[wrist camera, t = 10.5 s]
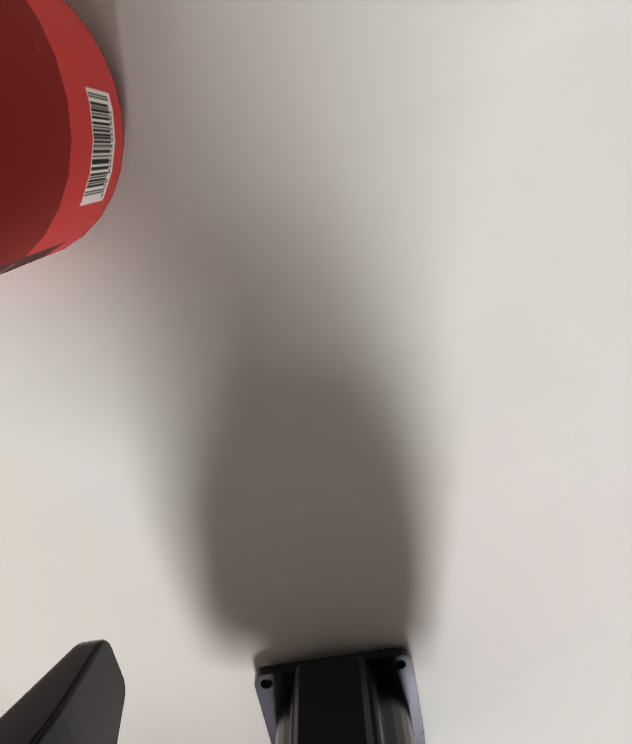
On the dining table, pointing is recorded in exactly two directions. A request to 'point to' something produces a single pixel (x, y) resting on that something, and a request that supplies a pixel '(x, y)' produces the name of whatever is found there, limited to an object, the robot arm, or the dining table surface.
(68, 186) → the canned food
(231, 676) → the dining table surface
